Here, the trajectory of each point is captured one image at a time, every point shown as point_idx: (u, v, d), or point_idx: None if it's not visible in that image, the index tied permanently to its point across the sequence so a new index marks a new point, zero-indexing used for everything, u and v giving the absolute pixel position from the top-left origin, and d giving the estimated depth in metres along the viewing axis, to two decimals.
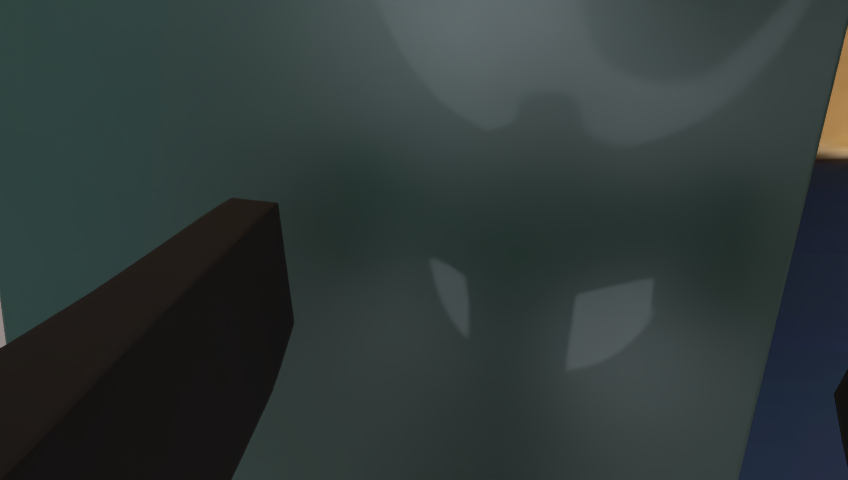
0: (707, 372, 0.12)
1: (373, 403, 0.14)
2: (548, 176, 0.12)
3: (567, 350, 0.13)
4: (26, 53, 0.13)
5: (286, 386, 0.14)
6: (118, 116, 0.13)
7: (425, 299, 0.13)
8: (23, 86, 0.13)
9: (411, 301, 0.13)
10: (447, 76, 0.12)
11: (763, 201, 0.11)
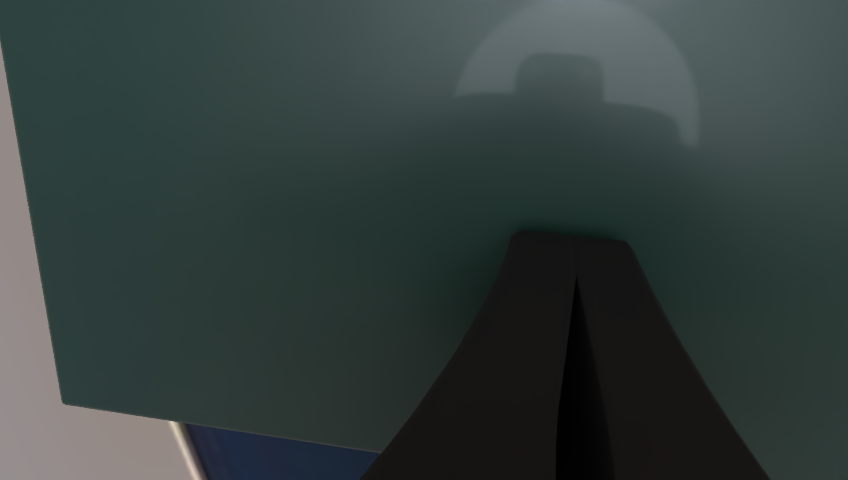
0: None
1: None
2: None
3: None
4: None
5: (464, 233, 0.09)
6: None
7: (718, 73, 0.08)
8: None
9: (693, 78, 0.08)
10: None
11: None
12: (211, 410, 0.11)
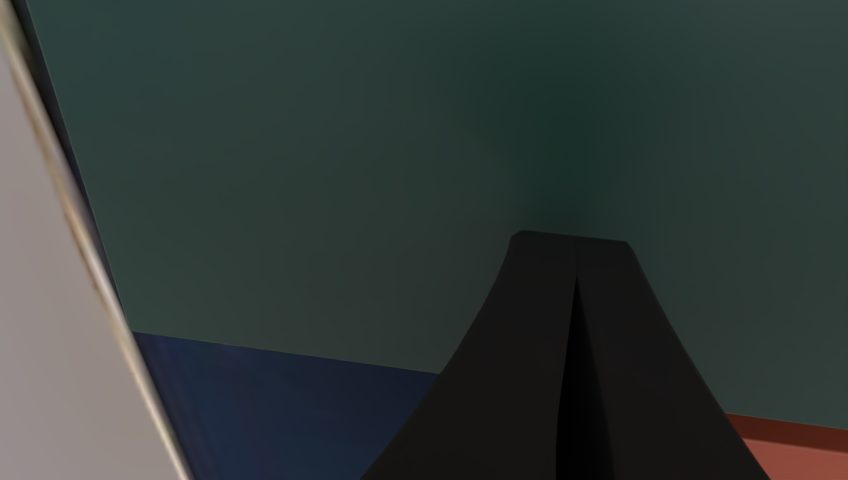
0: None
1: (598, 219, 0.10)
2: None
3: None
4: None
5: (472, 199, 0.10)
6: None
7: (704, 66, 0.08)
8: None
9: (681, 70, 0.08)
10: None
11: None
12: (259, 336, 0.12)
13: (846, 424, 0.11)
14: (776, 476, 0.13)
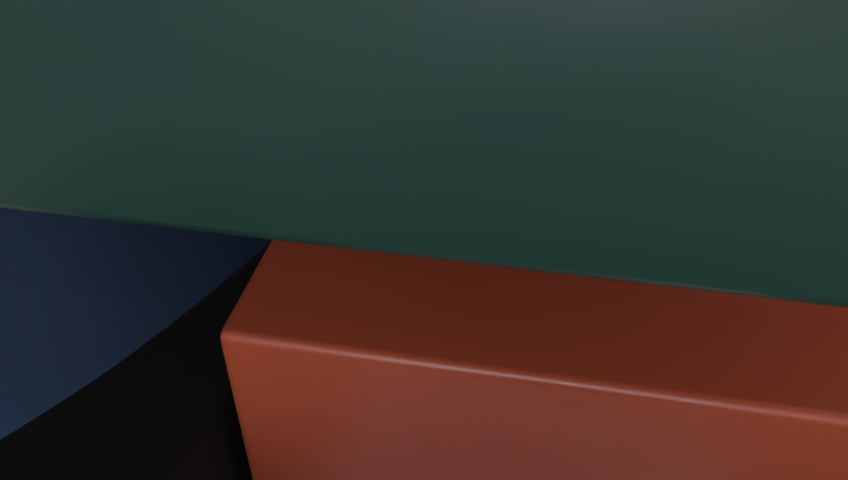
0: None
1: None
2: None
3: None
4: None
5: None
6: None
7: None
8: None
9: None
10: None
11: None
12: None
13: (513, 243, 0.03)
14: (462, 455, 0.05)
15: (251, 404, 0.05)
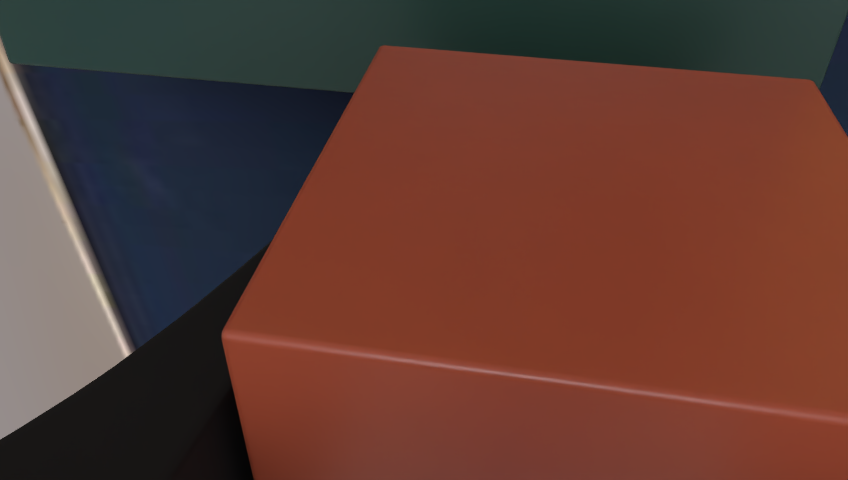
0: None
1: None
2: None
3: None
4: None
5: None
6: None
7: None
8: None
9: None
10: None
11: None
12: (125, 57, 0.13)
13: None
14: (462, 455, 0.05)
15: (252, 403, 0.05)
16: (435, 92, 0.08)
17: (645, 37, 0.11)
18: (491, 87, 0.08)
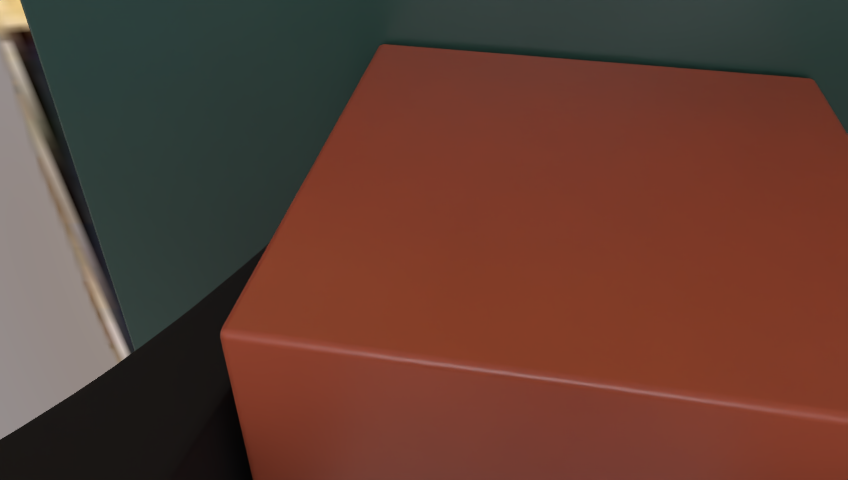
0: None
1: None
2: None
3: None
4: None
5: None
6: None
7: None
8: None
9: None
10: None
11: None
12: None
13: None
14: (462, 455, 0.05)
15: (251, 402, 0.05)
16: (435, 91, 0.08)
17: None
18: (491, 86, 0.08)
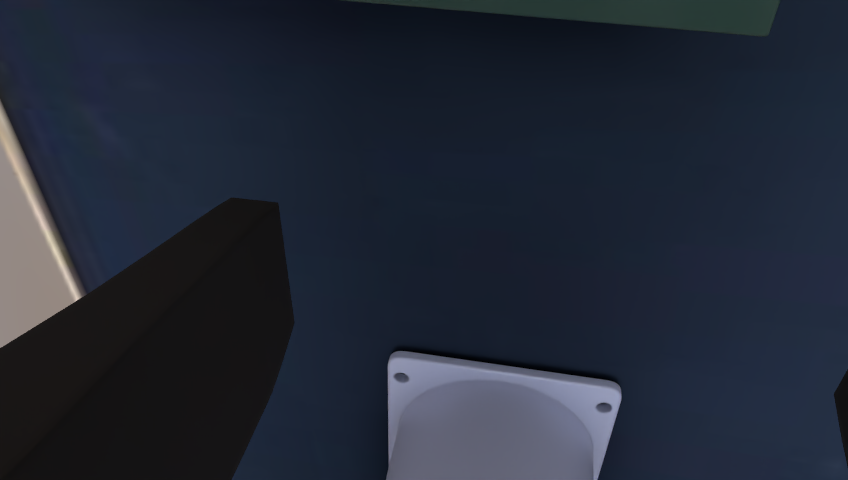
0: None
1: None
2: None
3: None
4: None
5: None
6: None
7: None
8: None
9: None
10: None
11: None
12: None
13: (613, 15, 0.11)
14: None
15: None
16: None
17: None
18: None
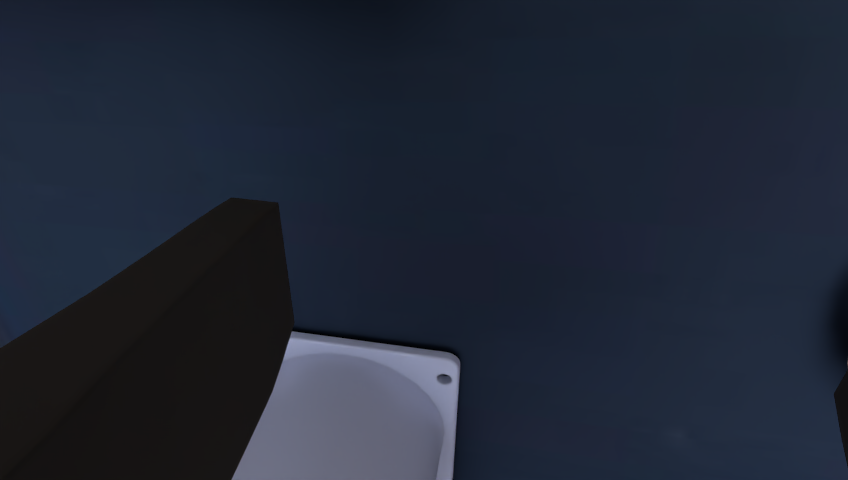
0: None
1: None
2: None
3: None
4: None
5: None
6: None
7: None
8: None
9: None
10: None
11: None
12: None
13: None
14: None
15: None
16: None
17: None
18: None
